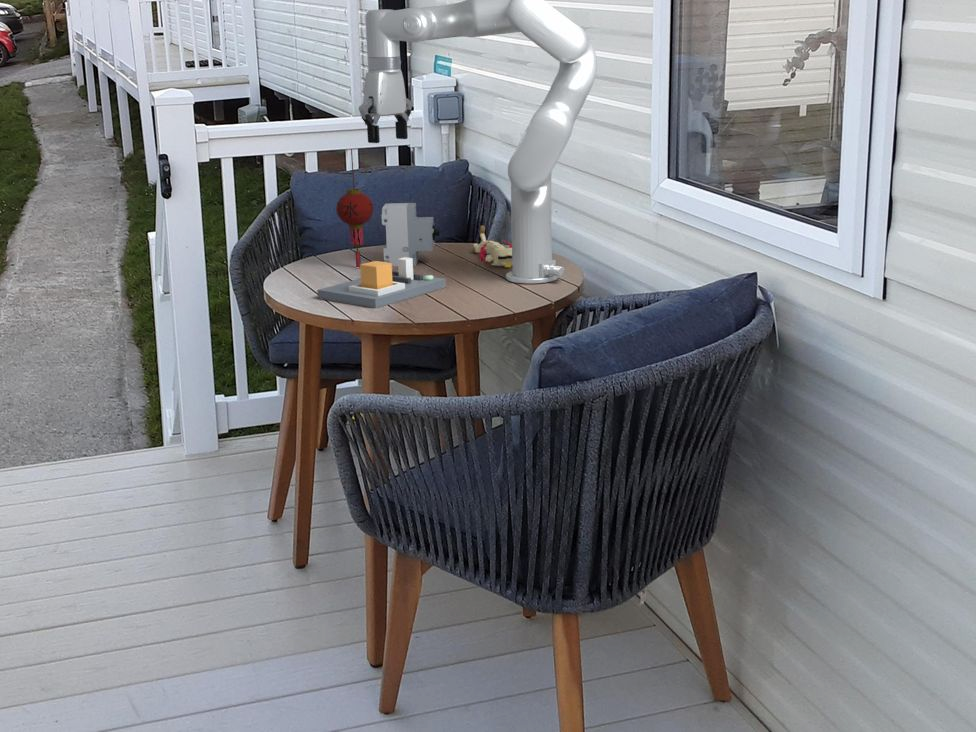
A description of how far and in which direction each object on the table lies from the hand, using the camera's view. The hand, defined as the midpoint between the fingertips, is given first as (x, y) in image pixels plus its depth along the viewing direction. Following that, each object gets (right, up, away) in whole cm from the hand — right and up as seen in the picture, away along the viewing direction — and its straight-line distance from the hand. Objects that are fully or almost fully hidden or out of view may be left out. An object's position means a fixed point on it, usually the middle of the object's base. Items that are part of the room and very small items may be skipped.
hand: (388, 140), depth 274 cm
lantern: (-10, -28, +25) cm, 38 cm away
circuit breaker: (+4, -26, +29) cm, 39 cm away
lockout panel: (-1, -36, -4) cm, 36 cm away
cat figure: (+25, -26, +29) cm, 46 cm away
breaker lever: (+4, -33, -1) cm, 33 cm away
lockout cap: (-2, -36, -10) cm, 37 cm away
